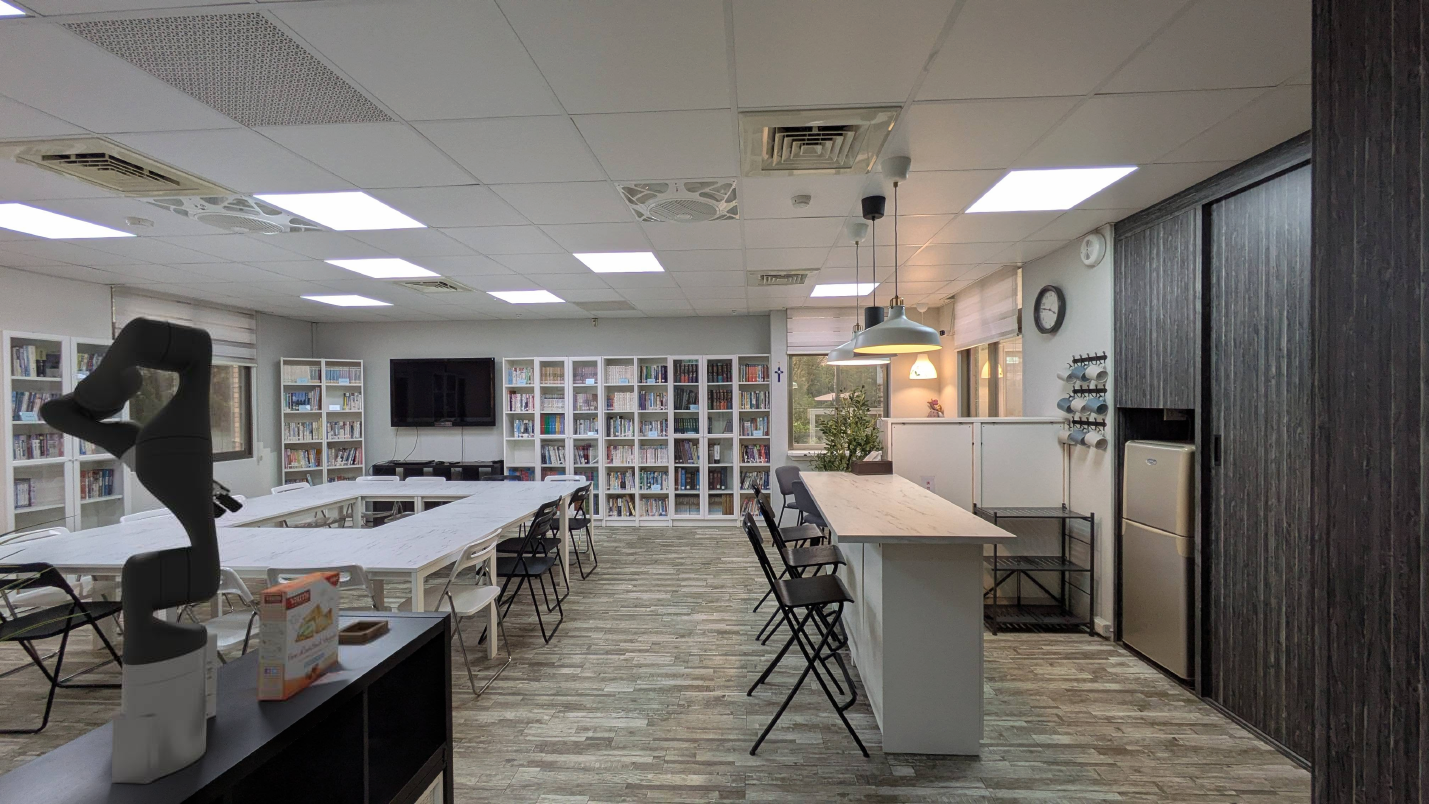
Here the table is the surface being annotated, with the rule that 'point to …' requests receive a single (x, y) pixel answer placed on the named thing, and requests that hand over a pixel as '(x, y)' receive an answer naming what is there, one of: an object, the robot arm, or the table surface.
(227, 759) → the table surface
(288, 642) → the cracker box
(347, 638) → the box
